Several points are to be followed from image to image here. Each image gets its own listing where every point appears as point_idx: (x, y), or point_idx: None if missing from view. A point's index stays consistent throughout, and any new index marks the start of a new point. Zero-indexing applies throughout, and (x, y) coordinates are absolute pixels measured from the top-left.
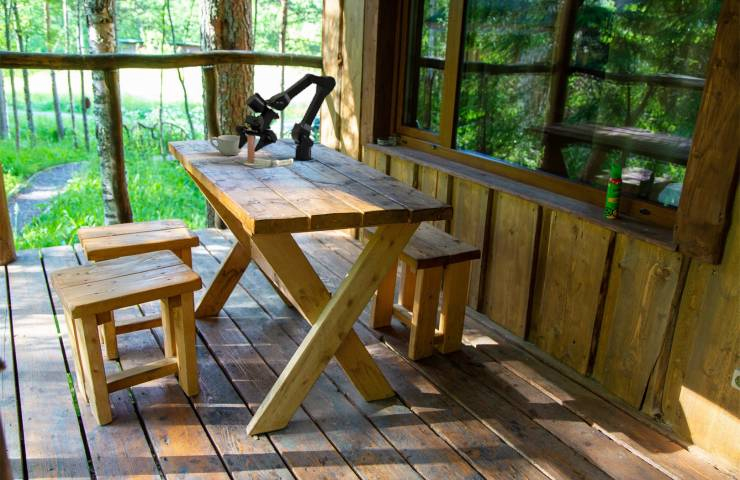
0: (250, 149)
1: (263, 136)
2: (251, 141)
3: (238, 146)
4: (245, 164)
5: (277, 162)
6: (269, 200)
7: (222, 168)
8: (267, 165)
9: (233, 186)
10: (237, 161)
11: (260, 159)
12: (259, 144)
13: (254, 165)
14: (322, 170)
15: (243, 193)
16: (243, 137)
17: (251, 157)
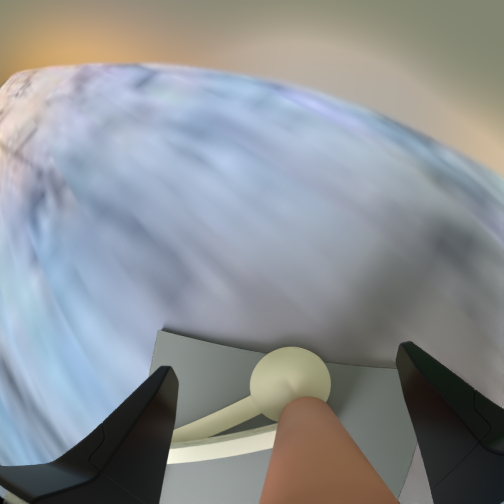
0: (289, 426)
1: (12, 466)
2: (277, 468)
3: (415, 345)
4: (287, 347)
5: None
6: (5, 112)
7: (312, 179)
8: None
9: (84, 87)
10: None
11: (221, 448)
12: (108, 424)
13: (229, 381)
14: None
15: (48, 89)
16: (470, 456)
17: (283, 414)
